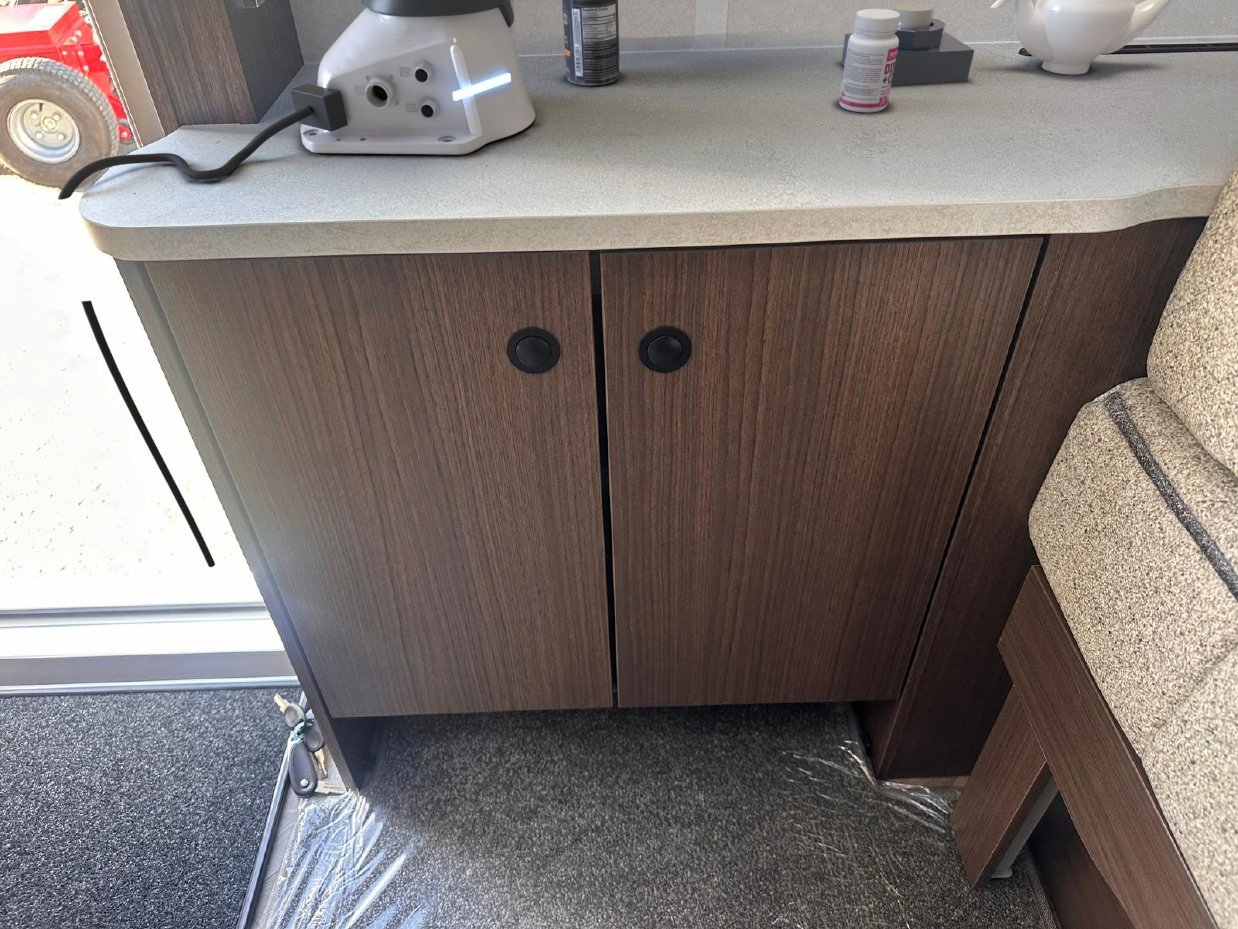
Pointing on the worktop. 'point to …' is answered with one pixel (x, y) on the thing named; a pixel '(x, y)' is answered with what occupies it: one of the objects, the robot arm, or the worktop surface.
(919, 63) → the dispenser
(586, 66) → the dark grey can
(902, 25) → the dispenser button
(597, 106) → the worktop surface
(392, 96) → the robot arm
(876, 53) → the pill bottle
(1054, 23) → the teapot
